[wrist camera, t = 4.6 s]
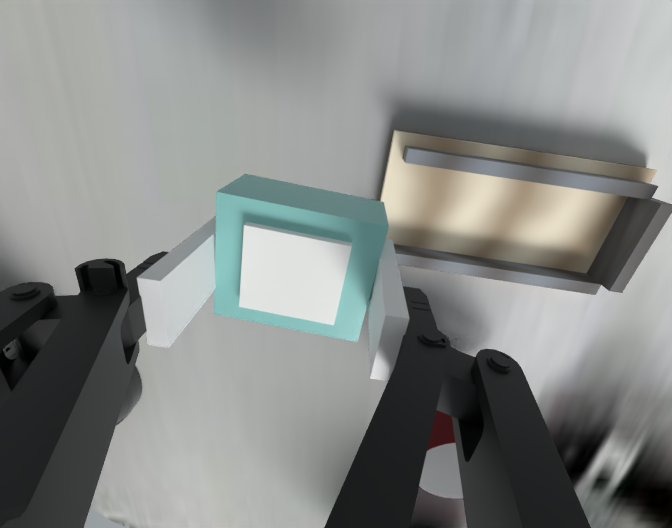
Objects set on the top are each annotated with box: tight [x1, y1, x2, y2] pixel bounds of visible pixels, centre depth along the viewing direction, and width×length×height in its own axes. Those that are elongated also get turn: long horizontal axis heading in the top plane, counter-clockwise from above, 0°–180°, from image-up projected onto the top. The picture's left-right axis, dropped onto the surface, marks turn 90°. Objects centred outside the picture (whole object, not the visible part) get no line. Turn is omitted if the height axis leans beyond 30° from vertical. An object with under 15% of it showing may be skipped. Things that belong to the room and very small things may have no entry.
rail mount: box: [380, 130, 672, 295], centre depth 26 cm, size 20×11×4 cm, turn 83°
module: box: [214, 174, 389, 342], centre depth 16 cm, size 7×6×4 cm
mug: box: [419, 410, 463, 499], centre depth 32 cm, size 11×8×10 cm
